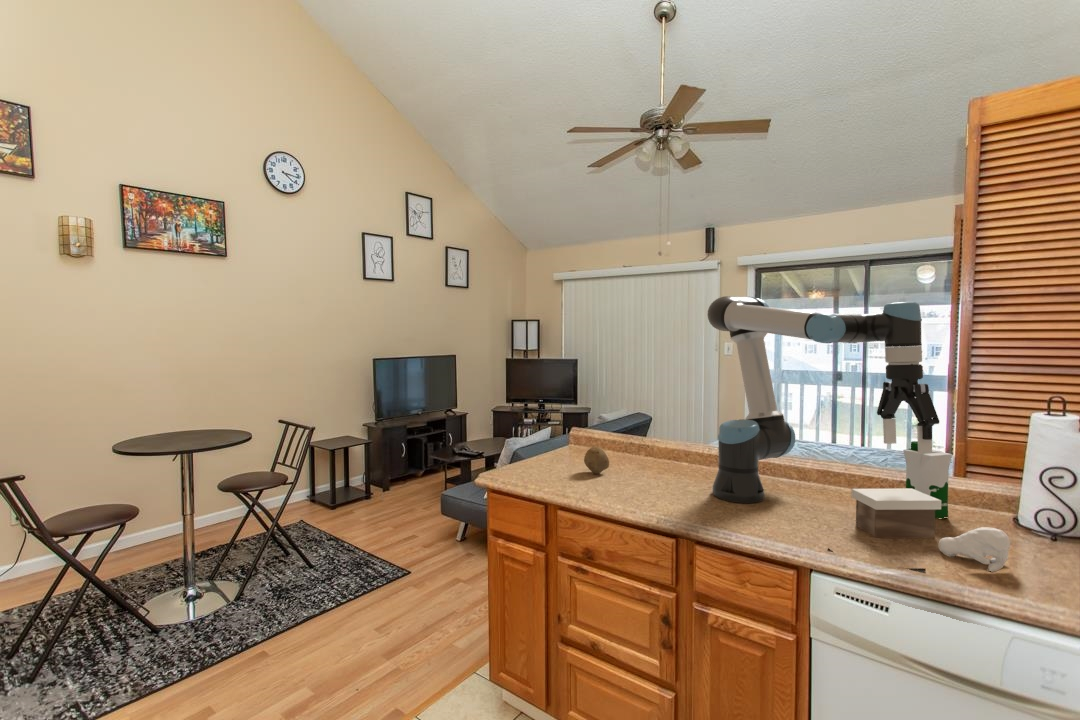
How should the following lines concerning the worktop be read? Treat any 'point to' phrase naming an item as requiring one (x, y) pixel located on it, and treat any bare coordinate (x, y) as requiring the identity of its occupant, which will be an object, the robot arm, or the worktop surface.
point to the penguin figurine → (979, 546)
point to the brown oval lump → (596, 460)
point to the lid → (896, 499)
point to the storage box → (895, 522)
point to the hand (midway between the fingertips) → (906, 448)
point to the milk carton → (929, 474)
